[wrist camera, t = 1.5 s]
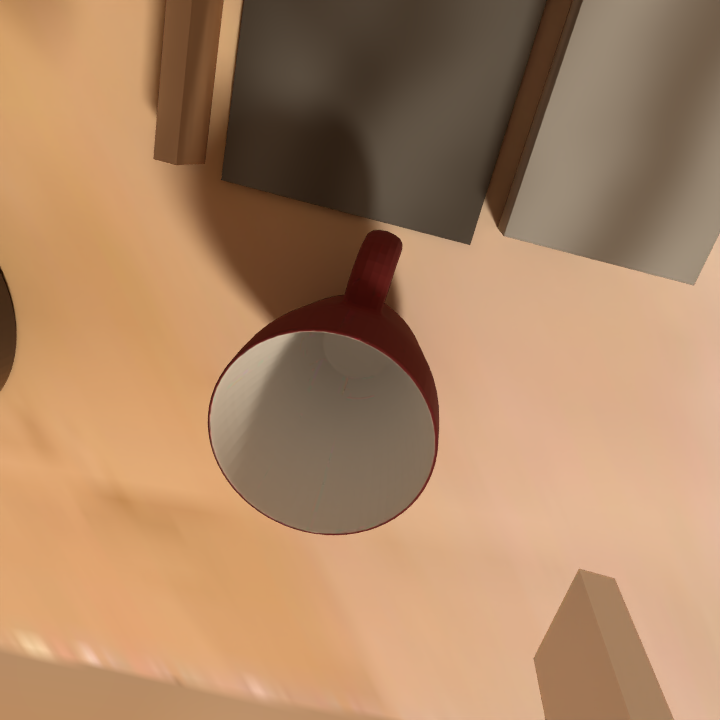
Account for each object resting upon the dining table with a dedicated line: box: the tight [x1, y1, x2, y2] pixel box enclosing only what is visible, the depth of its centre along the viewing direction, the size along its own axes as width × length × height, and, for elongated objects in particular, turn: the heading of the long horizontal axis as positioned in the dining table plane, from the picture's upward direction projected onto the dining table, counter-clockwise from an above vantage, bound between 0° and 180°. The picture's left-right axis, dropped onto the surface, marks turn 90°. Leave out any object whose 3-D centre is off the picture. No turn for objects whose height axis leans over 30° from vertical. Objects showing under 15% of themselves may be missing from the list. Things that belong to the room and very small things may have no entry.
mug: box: [208, 230, 439, 535], centre depth 22 cm, size 10×8×10 cm
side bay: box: [154, 0, 720, 285], centre depth 21 cm, size 23×14×3 cm, turn 76°
